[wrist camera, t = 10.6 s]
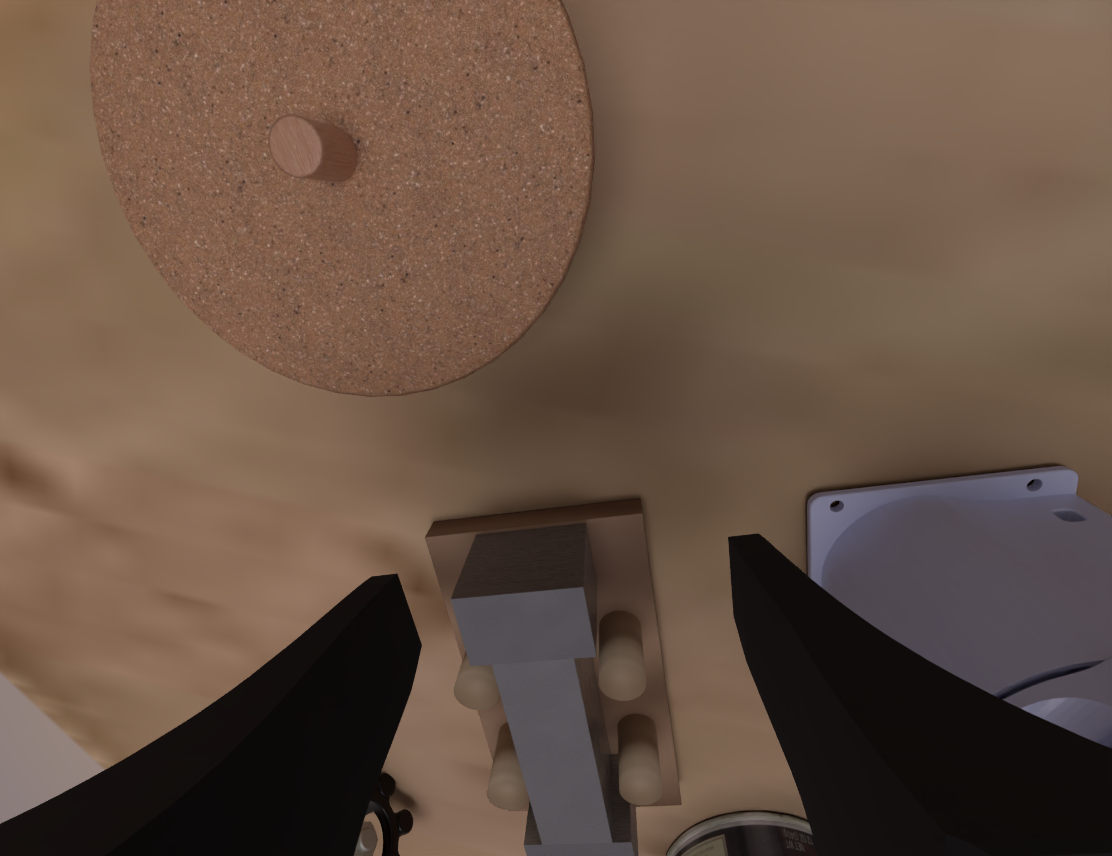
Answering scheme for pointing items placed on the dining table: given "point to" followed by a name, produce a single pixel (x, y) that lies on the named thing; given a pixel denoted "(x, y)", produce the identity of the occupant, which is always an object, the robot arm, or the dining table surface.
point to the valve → (383, 821)
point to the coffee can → (747, 836)
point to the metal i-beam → (548, 683)
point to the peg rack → (620, 662)
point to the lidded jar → (350, 174)
